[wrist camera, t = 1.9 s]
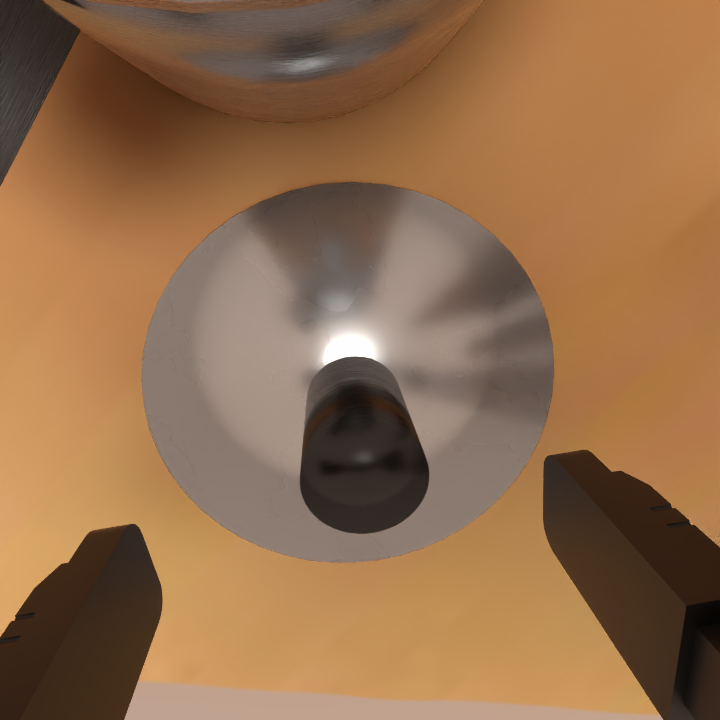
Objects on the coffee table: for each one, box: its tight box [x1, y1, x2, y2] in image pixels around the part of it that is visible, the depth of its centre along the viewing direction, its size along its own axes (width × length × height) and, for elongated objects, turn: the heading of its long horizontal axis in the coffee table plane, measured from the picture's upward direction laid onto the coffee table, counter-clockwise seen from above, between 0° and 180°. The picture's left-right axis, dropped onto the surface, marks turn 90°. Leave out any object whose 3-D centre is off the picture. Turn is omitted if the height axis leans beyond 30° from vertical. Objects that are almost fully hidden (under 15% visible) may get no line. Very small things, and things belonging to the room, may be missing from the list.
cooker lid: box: [142, 182, 554, 563], centre depth 13 cm, size 13×13×6 cm
